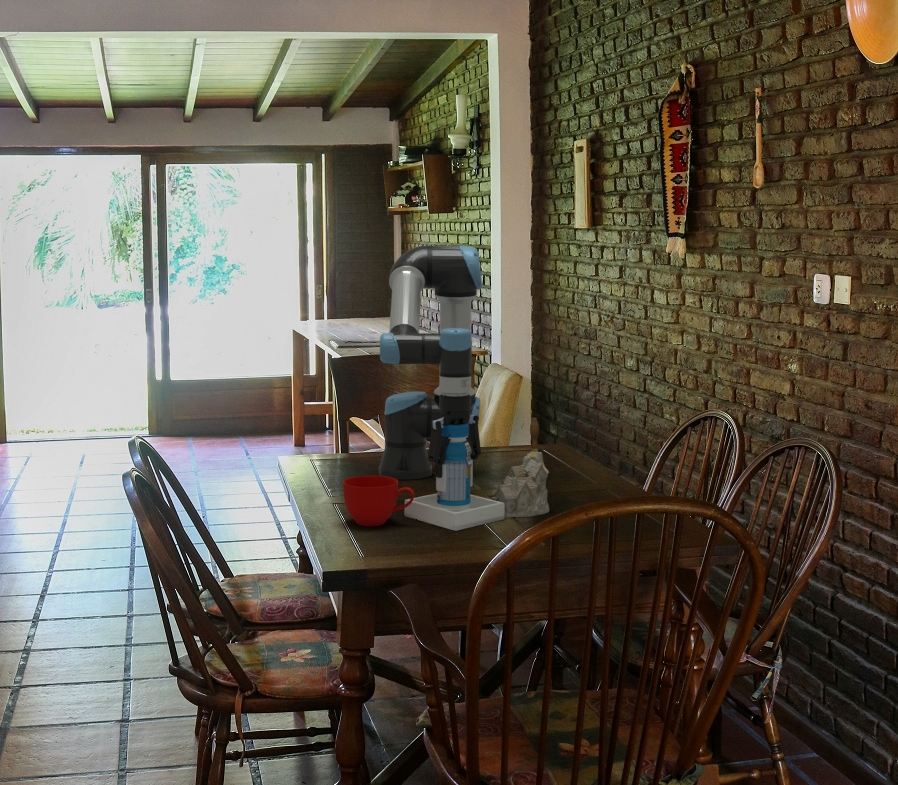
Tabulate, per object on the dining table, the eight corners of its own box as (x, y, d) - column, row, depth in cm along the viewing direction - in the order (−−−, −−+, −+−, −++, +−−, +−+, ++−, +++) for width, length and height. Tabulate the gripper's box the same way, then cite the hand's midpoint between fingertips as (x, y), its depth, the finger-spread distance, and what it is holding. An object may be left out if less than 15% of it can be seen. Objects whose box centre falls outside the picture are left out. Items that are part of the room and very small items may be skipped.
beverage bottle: (448, 511, 259) (448, 427, 256) (429, 503, 266) (430, 421, 263) (478, 506, 263) (479, 424, 261) (459, 499, 271) (460, 419, 268)
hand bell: (529, 476, 312) (530, 421, 310) (514, 471, 319) (515, 416, 317) (554, 474, 316) (555, 419, 314) (539, 468, 323) (540, 414, 321)
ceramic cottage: (529, 498, 285) (528, 442, 282) (560, 515, 270) (559, 456, 267) (474, 507, 279) (472, 450, 276) (503, 525, 264) (501, 465, 261)
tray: (404, 516, 266) (404, 499, 266) (453, 505, 277) (453, 490, 277) (455, 530, 253) (455, 513, 253) (504, 519, 264) (504, 502, 264)
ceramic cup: (408, 532, 252) (408, 489, 250) (336, 528, 255) (336, 486, 253) (419, 518, 264) (419, 477, 263) (351, 514, 267) (351, 474, 266)
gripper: (433, 399, 251) (432, 497, 255) (497, 391, 265) (496, 484, 269) (411, 396, 257) (411, 491, 260) (475, 388, 271) (474, 479, 274)
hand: (454, 487), depth 264 cm, fingers closed on beverage bottle, 8 cm apart
